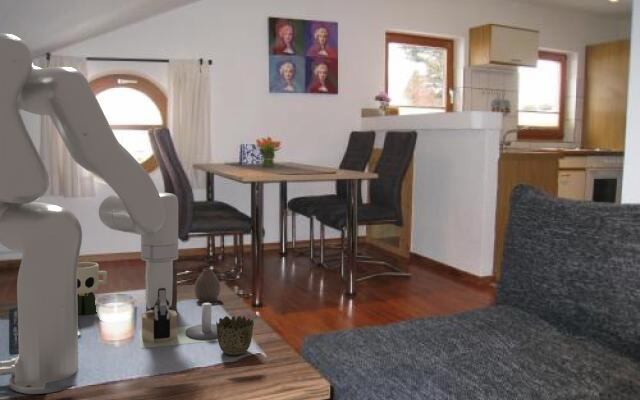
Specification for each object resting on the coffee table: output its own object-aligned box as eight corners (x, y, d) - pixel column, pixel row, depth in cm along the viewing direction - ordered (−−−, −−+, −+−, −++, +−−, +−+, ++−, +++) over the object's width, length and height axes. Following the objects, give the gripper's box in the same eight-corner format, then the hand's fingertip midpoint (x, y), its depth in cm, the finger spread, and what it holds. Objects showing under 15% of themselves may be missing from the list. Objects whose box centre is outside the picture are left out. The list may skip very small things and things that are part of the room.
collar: (143, 344, 114) (143, 320, 113) (141, 333, 120) (141, 310, 120) (178, 341, 116) (178, 317, 116) (174, 330, 123) (174, 308, 122)
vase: (193, 298, 154) (193, 267, 153) (218, 296, 156) (218, 266, 155) (195, 305, 147) (195, 272, 146) (221, 303, 149) (222, 271, 148)
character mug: (57, 324, 129) (57, 269, 127) (59, 315, 135) (58, 263, 134) (107, 319, 133) (107, 266, 132) (106, 311, 139) (106, 260, 138)
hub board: (141, 355, 112) (141, 316, 111) (138, 336, 122) (138, 301, 121) (231, 346, 118) (232, 309, 117) (222, 329, 128) (222, 296, 128)
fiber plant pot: (245, 368, 107) (246, 328, 106) (209, 364, 108) (210, 325, 107) (257, 354, 114) (258, 317, 113) (224, 351, 115) (224, 313, 114)
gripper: (139, 244, 123) (139, 319, 125) (143, 261, 107) (143, 346, 109) (173, 243, 126) (173, 316, 127) (182, 259, 110) (182, 342, 111)
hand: (159, 330), depth 118 cm, fingers open, 9 cm apart
